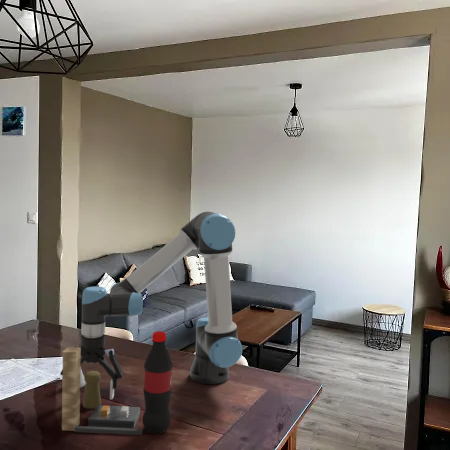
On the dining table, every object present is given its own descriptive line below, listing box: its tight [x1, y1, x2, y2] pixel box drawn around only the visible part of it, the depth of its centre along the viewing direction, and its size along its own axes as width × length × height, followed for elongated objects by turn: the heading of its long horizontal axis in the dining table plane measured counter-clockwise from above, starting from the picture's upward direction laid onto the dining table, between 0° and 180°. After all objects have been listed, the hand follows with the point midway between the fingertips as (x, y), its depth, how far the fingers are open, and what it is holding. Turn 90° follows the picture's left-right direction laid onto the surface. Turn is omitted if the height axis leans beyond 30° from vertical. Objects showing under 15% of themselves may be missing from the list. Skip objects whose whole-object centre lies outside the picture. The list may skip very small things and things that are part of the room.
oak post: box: [61, 346, 82, 432], centre depth 141 cm, size 4×4×24 cm
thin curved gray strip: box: [74, 425, 144, 436], centre depth 140 cm, size 20×1×1 cm, turn 89°
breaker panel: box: [87, 404, 141, 429], centre depth 147 cm, size 14×9×4 cm, turn 89°
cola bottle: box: [142, 330, 173, 435], centre depth 142 cm, size 8×8×30 cm
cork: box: [82, 370, 102, 410], centre depth 157 cm, size 6×6×11 cm
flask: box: [80, 366, 86, 389], centre depth 171 cm, size 7×7×10 cm
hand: (91, 396), depth 157 cm, fingers open, 13 cm apart
